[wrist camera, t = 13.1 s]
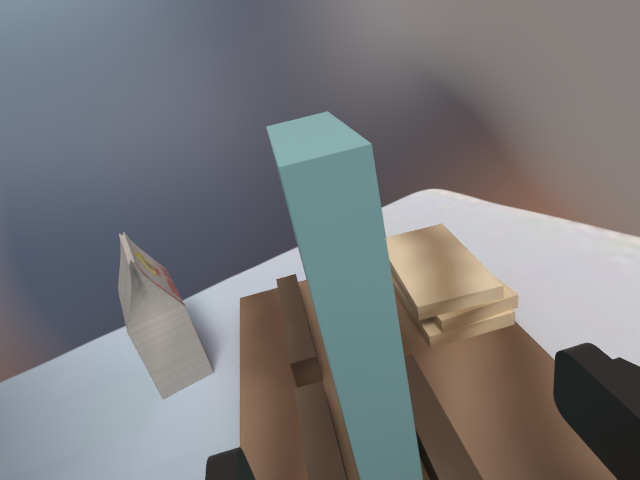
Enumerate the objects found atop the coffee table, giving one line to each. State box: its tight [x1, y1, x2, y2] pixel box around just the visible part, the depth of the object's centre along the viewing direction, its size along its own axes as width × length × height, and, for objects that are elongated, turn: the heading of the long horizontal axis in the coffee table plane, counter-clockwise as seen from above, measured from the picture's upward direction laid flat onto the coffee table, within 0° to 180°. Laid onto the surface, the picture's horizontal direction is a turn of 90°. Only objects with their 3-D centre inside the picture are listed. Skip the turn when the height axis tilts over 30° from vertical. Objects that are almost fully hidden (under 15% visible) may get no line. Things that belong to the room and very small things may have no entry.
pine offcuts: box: [386, 224, 518, 349], centre depth 30 cm, size 6×10×3 cm, turn 10°
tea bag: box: [118, 232, 214, 399], centre depth 29 cm, size 4×7×10 cm, turn 30°
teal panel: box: [267, 112, 423, 480], centre depth 16 cm, size 2×6×16 cm, turn 10°
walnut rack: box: [240, 274, 617, 480], centre depth 24 cm, size 18×26×3 cm
